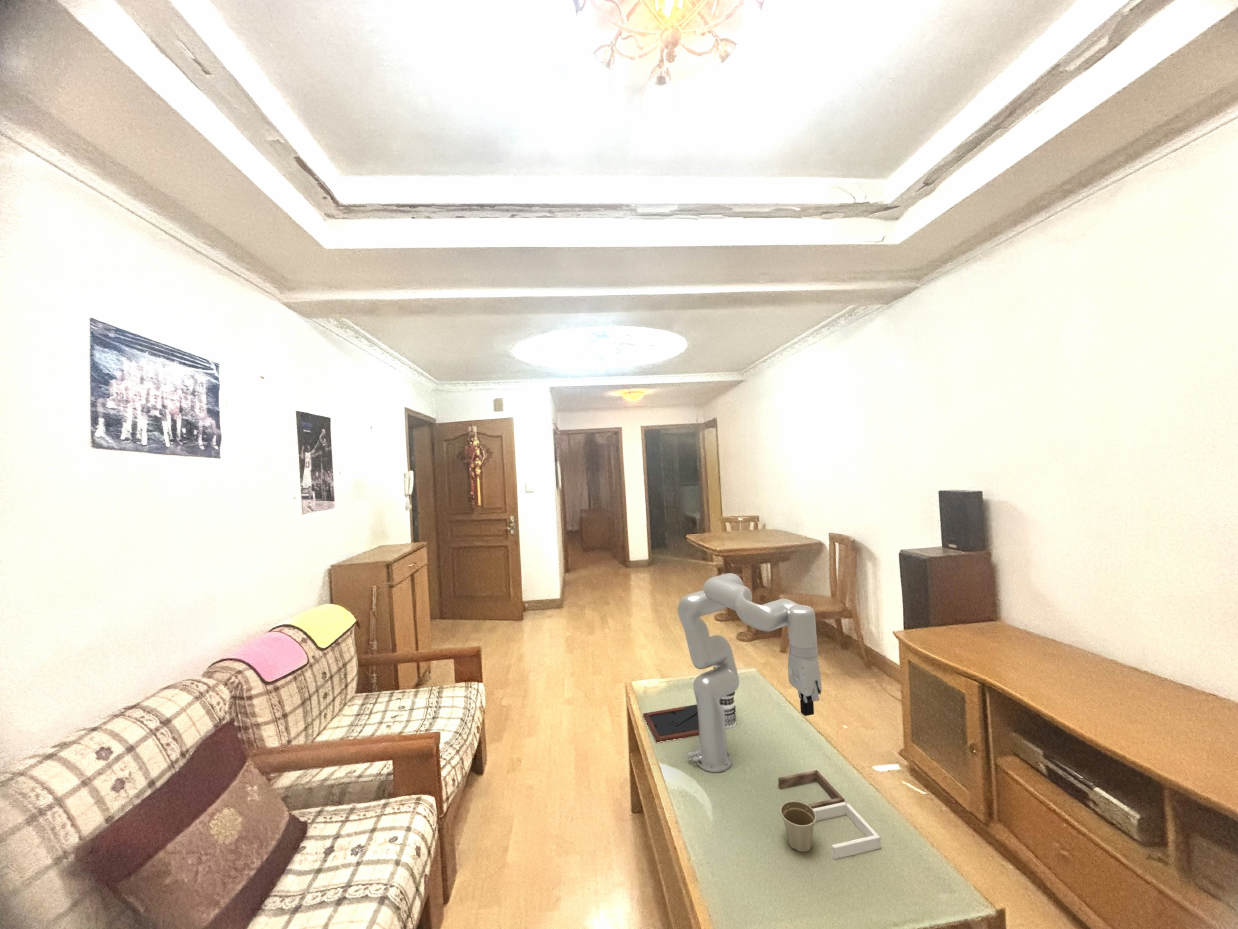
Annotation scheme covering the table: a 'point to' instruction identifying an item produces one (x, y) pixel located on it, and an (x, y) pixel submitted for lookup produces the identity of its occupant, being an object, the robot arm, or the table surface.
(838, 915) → the table surface
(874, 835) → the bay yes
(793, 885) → the table surface
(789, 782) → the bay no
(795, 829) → the flower pot
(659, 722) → the picture frame
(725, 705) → the decorative candle
